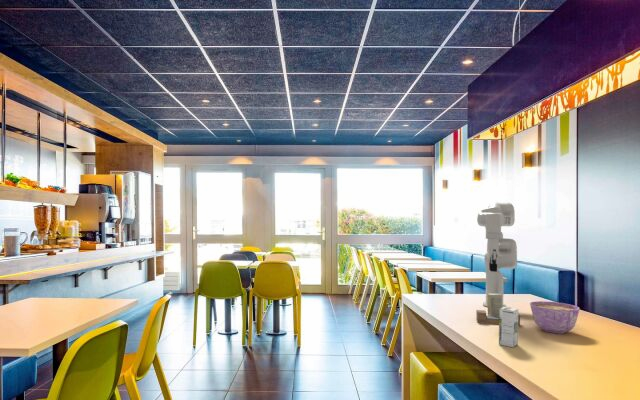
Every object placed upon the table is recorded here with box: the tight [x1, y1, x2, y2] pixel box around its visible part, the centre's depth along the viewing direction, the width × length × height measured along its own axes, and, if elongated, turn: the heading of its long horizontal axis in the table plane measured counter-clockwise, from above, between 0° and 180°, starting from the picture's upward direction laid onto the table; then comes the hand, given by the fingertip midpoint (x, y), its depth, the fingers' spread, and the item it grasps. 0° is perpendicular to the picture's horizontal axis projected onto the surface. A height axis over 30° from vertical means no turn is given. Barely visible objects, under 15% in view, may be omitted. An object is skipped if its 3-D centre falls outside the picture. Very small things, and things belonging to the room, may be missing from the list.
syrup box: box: [498, 306, 519, 348], centre depth 174 cm, size 6×6×14 cm
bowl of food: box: [529, 300, 580, 334], centre depth 198 cm, size 20×20×12 cm
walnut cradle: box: [475, 309, 521, 327], centre depth 211 cm, size 6×19×5 cm, turn 75°
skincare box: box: [487, 293, 502, 317], centre depth 222 cm, size 6×4×12 cm
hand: (493, 270), depth 229 cm, fingers open, 4 cm apart
